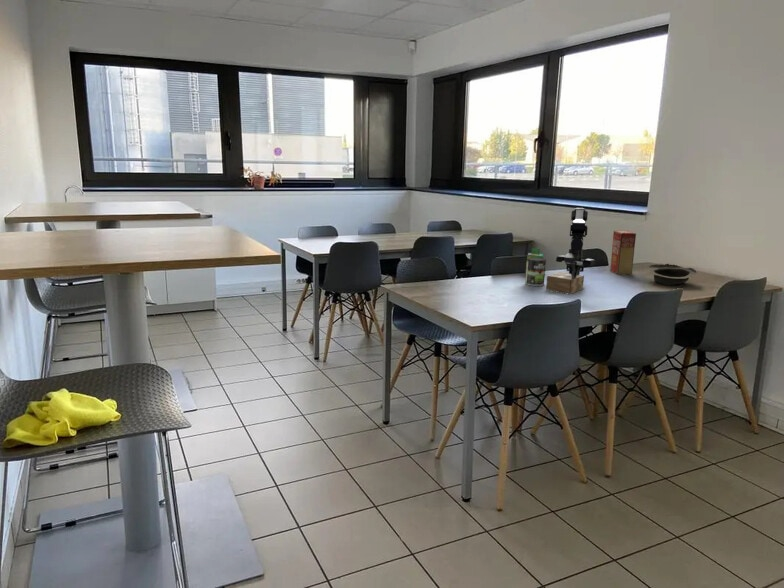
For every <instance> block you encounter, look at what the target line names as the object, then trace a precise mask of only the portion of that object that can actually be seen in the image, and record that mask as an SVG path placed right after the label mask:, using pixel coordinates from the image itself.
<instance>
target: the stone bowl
mask: <svg viewBox="0 0 784 588" xmlns="http://www.w3.org/2000/svg"><path fill="white" fill-rule="evenodd" d="M647 271H648V272H649V273H650V274H652V275H653V280H654V282H657V283H658V284H661V285H667V286H675V285H681V284H683V283H686V282H687V281H689V279H690V278H694V277H695V276H696V274H697V270H696V269H695V268H692V267H688V268H687V267H682V266H679V265H675V264H669V263H666V264H651V265H649V266H648V269H647Z"/></svg>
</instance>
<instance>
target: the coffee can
mask: <svg viewBox="0 0 784 588" xmlns="http://www.w3.org/2000/svg"><path fill="white" fill-rule="evenodd" d="M546 263H547V259H546V258H544V257H543V258H537V257H530V258H527V257H526V264H527V266H525V282H524V284H525V285H527V286H533V287H542V286H545V275H546Z"/></svg>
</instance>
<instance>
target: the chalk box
mask: <svg viewBox="0 0 784 588" xmlns="http://www.w3.org/2000/svg"><path fill="white" fill-rule="evenodd" d="M535 251H536V252H535ZM540 252H541V250H540V248H534V247H533V248H531V252H528V253H527V255H526V259H527V258H530V257H537V258H544V254H543V253H540ZM525 265H526V266H527V263H526V264H525ZM526 266H525V267H526Z"/></svg>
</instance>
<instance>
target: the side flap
mask: <svg viewBox="0 0 784 588" xmlns="http://www.w3.org/2000/svg"><path fill="white" fill-rule="evenodd" d="M574 274H575V271H572V279H571V288H570V294H569V295H571V294H574V293H576V292H579V291H582V290H584V279H585V275H581V276H580V277H577V278H576V277H574Z"/></svg>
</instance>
